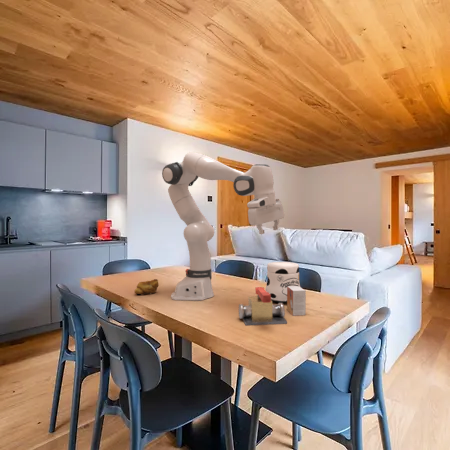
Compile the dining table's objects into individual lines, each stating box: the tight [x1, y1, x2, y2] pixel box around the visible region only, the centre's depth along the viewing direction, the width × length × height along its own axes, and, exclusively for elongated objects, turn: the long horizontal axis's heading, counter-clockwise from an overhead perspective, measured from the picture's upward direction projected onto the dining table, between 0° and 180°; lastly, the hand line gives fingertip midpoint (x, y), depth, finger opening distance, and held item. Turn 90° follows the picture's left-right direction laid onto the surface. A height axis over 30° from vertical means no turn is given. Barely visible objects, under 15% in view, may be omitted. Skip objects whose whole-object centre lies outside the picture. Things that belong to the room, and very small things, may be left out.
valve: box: [238, 294, 288, 326], centre depth 112 cm, size 18×12×10 cm
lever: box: [254, 286, 272, 303], centre depth 107 cm, size 14×4×3 cm, turn 5°
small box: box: [286, 286, 307, 316], centre depth 120 cm, size 8×6×10 cm
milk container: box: [264, 261, 301, 304], centre depth 138 cm, size 17×17×18 cm
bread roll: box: [134, 278, 159, 295], centre depth 154 cm, size 13×10×8 cm
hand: (269, 231), depth 124 cm, fingers open, 8 cm apart
